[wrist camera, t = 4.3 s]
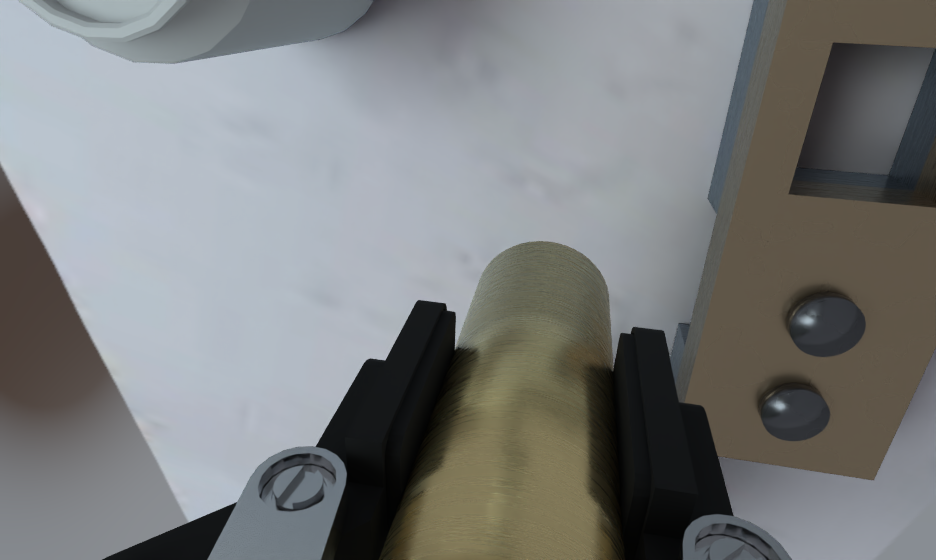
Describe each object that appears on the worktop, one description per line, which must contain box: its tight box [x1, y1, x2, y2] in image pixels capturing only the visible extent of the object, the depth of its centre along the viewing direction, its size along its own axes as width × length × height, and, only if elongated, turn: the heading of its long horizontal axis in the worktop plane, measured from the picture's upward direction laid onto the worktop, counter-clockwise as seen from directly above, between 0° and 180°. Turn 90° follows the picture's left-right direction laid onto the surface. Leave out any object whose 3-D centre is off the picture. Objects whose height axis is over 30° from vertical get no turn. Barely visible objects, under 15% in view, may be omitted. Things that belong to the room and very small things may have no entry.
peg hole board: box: [670, 0, 936, 480], centre depth 20 cm, size 28×8×5 cm, turn 178°
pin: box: [379, 241, 625, 560], centre depth 10 cm, size 4×4×10 cm
